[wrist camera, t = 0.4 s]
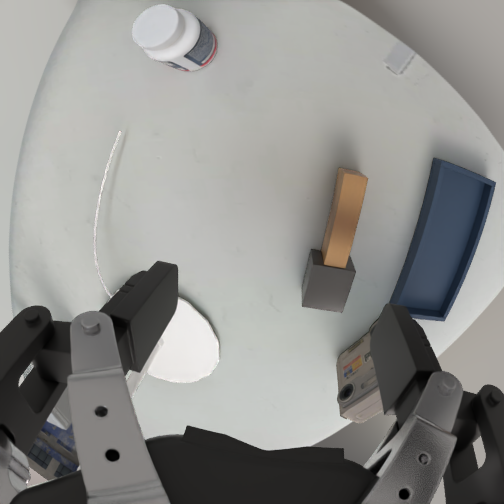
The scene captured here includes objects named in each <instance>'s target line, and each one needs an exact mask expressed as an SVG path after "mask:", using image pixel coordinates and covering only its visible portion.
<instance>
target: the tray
mask: <svg viewBox="0 0 504 504" xmlns="http://www.w3.org/2000/svg"><path fill="white" fill-rule="evenodd" d="M495 185H496V182H494V181H492V180H490V179H488V178H485V177H483V176H481V175H479V174H476V173H474V172H471V171H469V170H467V169H464V168H462V167H459V166H457V165H454V164H451V163H449V162H446V161H443V160H440V159H437V158H433V163H432V168H431V173H430V177H429V181H428V186H427V190H426V194H425V198H424V202H423V205H422V209H421V213H420V216H419V220H418V223H417V226H416V230H415V233H414V236H413V239H412V243H411V246H410V249H409V252H408V255H407V258H406V260H405V263H404V266H403V269H402V272H401V274H400V277H399V280H398V282H397V285H396V287H395V290H394V293H393V295H392V298H391V300H390V302H389V303H390V304H396V305H403V306H406V307H407V309H408V311H409V313H410V315H411V317H412V318H416V319H425V320H435V321H445V319H446V317H447V316H448V314H449V312H450V310H451V308H452V306H453V303H454V301H455V299H456V297H457V295H458V293H459V291H460V288H461V286H462V284H463V282H464V279H465V277H466V275H467V272H468V270H469V267H470V265H471V262H472V260H473V257H474V254H475V252H476V249H477V246H478V243H479V240H480V237H481V234H482V231H483V228H484V225H485V222H486V219H487V215H488V212H489V208H490V205H491V201H492V197H493V193H494V189H495Z"/></svg>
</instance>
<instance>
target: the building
mask: <svg viewBox="0 0 504 504" xmlns="http://www.w3.org/2000/svg"><path fill="white" fill-rule="evenodd" d="M27 459H28V462H29V467H30V468H32V469H33V470H34V471H36V472H37V473H38V474H40V475H41V476H43V477H44V478H45V479H47V480H48V481H49V480H52V479H56V478H59V477H62V476H65V475H67V474H70V473H72V472H75V471H77V469H78V467H79V465H80V464H79V459H78V455H77V450H76V445H75V439H74V434H73V428H72V423H71V424H70V425H69V427H68V428H67V430H65V429H62V428H60V427H58V426H56V425H54V424H52V423H50V422H48V421H47V420H46V422H45V424H44V426H43V427H42V429H41V431H40V433H39V435H38V436H37V438H36V440H35V442H34V444H33V446H32V447H31V449H30V451H29V453H28V455H27Z"/></svg>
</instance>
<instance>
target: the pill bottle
mask: <svg viewBox="0 0 504 504" xmlns="http://www.w3.org/2000/svg"><path fill="white" fill-rule="evenodd" d="M132 37H133V40H134V41H135V43H136V44H137V45H139V46H141V47H143V50H144V52H145V53H146V54H147V55H148V56H149V57H150V58H152V59H154V60H156V61H158V62H161V63H163V64H166V65H168V66H171V67H173V68H176V69H178V70H182V71H195V70H198V69H201V68H203V67H205V66H206V65H207V64H209V63H210V62H211V61H212V59H213V58H214V56H215V54H216V52H217V39H216V37H215V35H214V34H213V33H212V32H211V31H210V30H209V29H208V28H207V27H206V26H205V25H204V24H203V23H202V22H201V21H200V20H199V19H198V18H197V17H196V16H195V15H194V14H193V13H191V12H190V11H188V10H185V9H180V8H173V7H172V6H170V5H166V4H159V5H154V6H152V7H150V8H148V9H146V10H145V11H143V12H142V13H141V14H140V15H139V16H138V17H137V19H136V20H135V22H134V24H133V27H132Z"/></svg>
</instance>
